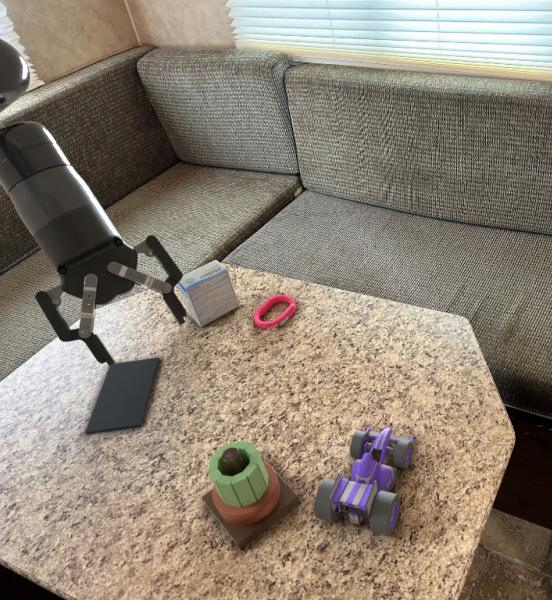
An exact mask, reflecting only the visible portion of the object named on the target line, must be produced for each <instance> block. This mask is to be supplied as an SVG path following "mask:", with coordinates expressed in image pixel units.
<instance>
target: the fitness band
mask: <svg viewBox="0 0 552 600" xmlns="http://www.w3.org/2000/svg"><path fill="white" fill-rule="evenodd" d="M281 302H286V303H289V304H290V305H289V306H288V307H287V308H286V309H285V310H284V311H283V312H282V314H281V315H279V316H278V317H276V318H275V319H273V320H270V321H262V320H261V317H262V316H263V315H264V314H265V313H266V312H267V311H268V310H269V309H270V308H271V307H272V306H273V305H275V304H277V303H281ZM296 309H297V304H296V301H295V300H294V299H293V298H291V296H289V295H285V294H277V295H273V296H271V297H269V298H268V299H267V300H265V301H264V302H263V303H262V304H261V305H260V306H259V307H258V308H257V310H256V311H255V313H254V315H253V320H254V323H255V325H256V326H257V327H259V328H263V329H266V328H272V327H275V326H276V325H278V326H280V327H282V326H284V324H285V323H286V322H287V321H288V320H289V319H290V318H291V317H292V316H293V315H294V314H295V313H296V312H295V311H296Z"/></svg>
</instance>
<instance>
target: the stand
mask: <svg viewBox="0 0 552 600" xmlns="http://www.w3.org/2000/svg"><path fill="white" fill-rule="evenodd" d="M261 458H262V460H263V463H264V466H265V468H266V471H267V473H268V487H267V490H266V491H265V493H264V494H263V495H262V496H261V498H260V499H259V500H257V499H256V502H255V503H252V504H250V505H248V506H245V507H243V506H242V507H241V508H240V507H233V506H228V505H226V504H225V502H224V501H223V500H222V499H221V497H220V496H219V494H218V492H217V490H216V488H215V486H214V485H213V486H212V489H211V490H209V491H208V492H206V493H205V494H203V495H202V496H201V497H200V498H201V500H202V502H203V504H204V505H205V506H206V508H207V509H208V510H209V512H210V513H211V514H212V515H213V517H214V518H215V520H216V521H217V522H218V523H219V525H220V526H221V528H223V530H224V532H225V533H226V534H227V536H229V538H230V539H231V541H232V542H233V543H234V545H235V546H236V547H237V548H238V550H239V551H242V550H243V549H244V548H245V547H246V546H248V545H249V544H251V543H252V542H253V541H254V540H255V539H257V538H258V537H259V536H261V534H263V533H264V532H266V530H268V529H269V528H271V526H273V525H274V524H276V523H277V522H278V521H279V520H280V519H282V518H283V517H284V516H285V515H287V514H289V513H290V511H292V510H293V509H294V508H295V507H297V506H298V505H300V504H301V499H300V497H299V495H298V494H297V493H296V491H294V490H293V488H292V487H291V486H290V485H289V484H288V483H287V482H286V481H285V480H284V479H283V477H281V475H279V473H278V472H277V471H276V470H275V469H274V467H273V466H272V465H271V464H270V463H269V462H268V461H267V460H266V459H265V458H264V457H263V456H262V455H261ZM222 459H223V461H224V463H225V465H226V467H227V470H228V472H229V474H230V476H234V475H237V474H239V473H242V472H243V471H244V470H245V469H246V467H245V464H244V462H243V460H242V457H241V455H240V453H239V451H238V449H237V448H234V447H231V448H228V449H226V450H225V451H224V452H223V454H222Z"/></svg>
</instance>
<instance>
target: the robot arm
mask: <svg viewBox="0 0 552 600" xmlns="http://www.w3.org/2000/svg"><path fill="white" fill-rule="evenodd" d="M30 82H31V72H30V67H29V65H28V63H27V61H26V59H25V57H24V56H23V55H22V53H20V52H19V51H18V50H17V48H15V47H14V46H13V45H12V44H10V43H9V42H8V41H6V40H4V39H2V38H0V114H1V113H2V112H4V111H5V110H6V109H7V108H9V107H10V106H11V105H12V104H14V103H15V102H16V101H17V100H19V99H20V98H21V97H22V96H24V94H25V93H26V91H27V90H28V88H29V86H30ZM0 185H1V186H2V188H3V189H4V191H5V192H6V194H7V195H8V197H9V199H10V200H11V203H12V204H13V206H14V208H15V211H16V213H17V214H18V216H19V218H20V220H21V221H22V222H23V224H24V225H25V227H26V229H27V231H28V232H29V233H30V234H31V235H32V237H33V239H34V240H35V242H36V243H37V244H38V246H39V248H40V249H41V252H43V253H44V255H45V257H46V258H47V260H48V261H49V263H50V264H51V265H52V267H53V269H54V270H55V271H56V273H57V274H58V276H59V280H60V281H59V282H60V284H58V285H57V286H54V287H52V288H50V289H47V290H45V291H44V290H39V291H37V292H36V293H35V295H34V299H35V301H36V302H37V304H38V305H39V307H40V309H41V311H42V313H43V314H44V316H45V317H46V319H47V321H48V322H49V324H50V326H51V327H52V329H53V331H54V332H55V334H56V336H57V338H58V339H59V340H60V341H61V342H63V343H70V342H74V341H82V342H83V343H84V344H85V345H86V347H87V348H88V350H89V351H90V353H91V354H92V356H93V357H94V358H95V360H96V362H98V363H99V364H101V365H103V364H105V363H106V365H108V367H110V366H111V365H112V364H114V363H117V361H116V360H115V358H114V357H113V356H112V354H111V352H110V351H109V350H108V348H107V347H106V345H105V344H104V342H103V340H101V338H100V336H99V335H98V334H97V333H94V328H95V322H96V321H95V320H96V316H97V310H98V309H97V308H98V306H106V305H108V304H110V303H112V302H113V301H115V299H116V298H117V297H120V296H125V295H127V294H129V293H130V292H132V290H133V289H134V288H135V287H136V286H139V287H141V288H144V289H147V290H150V291H153V292H155V293H157V294H161V296H162V297H161V300H163V303H164V304H165V305H166V307H167V308H168V310H169V312H170V314H171V315H172V316H173V318H174V319H175V321H176V322H177V324H178V325H179V326H182V325H184V324H185V323H186V320H185V317H187V316H188V314H187V309H186V308H185V306H184V305H183V304H182V302H181V300H180V299H179V297H178V296H177V294H176V293H175V287H176V286H178V285H177V284H178V283H179V282H180V281H181V279H182V277H183V275H184V274H183V272H182V271H181V269H180V268H179V266H178V265H177V264H176V263H175V261H174V259H173V258H172V257H171V255H170V254H169V253H168V251H167V250H166V249H165V247H164V246H163V245H162V242H161V241H160V240H159V239H158V237H157V236H156V235H153V234H149V235H147V237H146V238H145V240H143V241H141V242H139V243H137V244H136V245H134V246H133V247H132V246H131V245H129V244H127V242H125V240H124V239H123V237H122V236H121V235H120V233H119V231H118V230H117V228H116V227H115V225H114V223H113V222H112V221H111V219H110V217H109V216H108V214H107V213H106V211H105V209H104V208H103V206H102V205H101V204H100V202H99V200H98V197H97V196H96V195H95V194H94V192H93V191H92V190H91V188H90V186H89V185H88V184H87V182H86V181H85V180H84V178H82V176H81V175H80V174H79V173H78V172H77V170H76V169H75V167H73V165H72V163H71V162H70V160H69V159H68V157H67V156H66V153H64V151H63V149H62V147H61V146H60V144H59V143H58V142H57V140H56V138H55V137H54V136H53V133H51V132H50V130H49V129H48V128H47V127H46V126H45V125H43V124H41V123H40V122H37V121H33V120H32V121H31V120H29V121H28V120H27V121H20V122H19V121H18V122H15V123H11V124H8V125H5V124H3V122H2V121H1V120H0ZM139 255H143V256H145V257H146V258H147V259H155V260H156V261H157V263H158V264H159V265H160V267H161V268H162V269H163V270H164V271H165V273H166V275H167V276H168V277H167V278H166V279H165V280H161V279H158V278H156V277H153V276H151V275H149V274H146V273H144V272H142V271H139V270H138V261H139ZM65 294H67V295H69V296H71V297H75V298H77V299H80V300H81V306H80V307H81V308H80V318H79V319H80V320H79V327H77V328H72V329H71V327H70V326H69V324H68V321H66V319H65V317H64V316H63V314H62V312H61V310H60V308H62V306H63V305H64V300H63V296H64V295H65Z"/></svg>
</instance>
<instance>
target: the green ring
mask: <svg viewBox="0 0 552 600" xmlns="http://www.w3.org/2000/svg"><path fill="white" fill-rule="evenodd" d="M231 447H234V448H237V449H238V451H239V453H240V455H241V457H242V460H243V462H244V464H245V467H246V469H245V470H244V471H243V472H242V473H239V474H237V475H234V476H230V474H229V472H228V470H227V467H226V465H225V463H224V461H223V459H222V454H223V452H224V451H225V450H226V449H228V448H231ZM258 449H259V448H257V447H256V446H255V445H254V444H253V443H251V442H250V441H244V440H243V441H242V440H237V441H236V440H234V441H232V442H229V443H227V444H224V445H222V446H221V447H219V448H218V449H217V450H216V451H215V452H214V453H213V455H212V456H211V457H210V459H209V462H208V469H207V473H208V475H209V477H210V479H211V482H212V484H213V486H215V488H216V490H217V492H218V494H219V496H220V497H221V499H222V500H223V501H224V502H225V504H226V505H228V506H233V507H240V508H241V507H242V506H243V507H245V506H248V505H250V504H252V503H255V502H256V499H257V500H259V499H260V498H261V496H262V495H263V494H264V493H265V491H266V490H267V487H268V473H267V471H266V468H265V466H264V463H263V460H262V458H261V456H262V455H261V452H260V451H259V450H258Z"/></svg>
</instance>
